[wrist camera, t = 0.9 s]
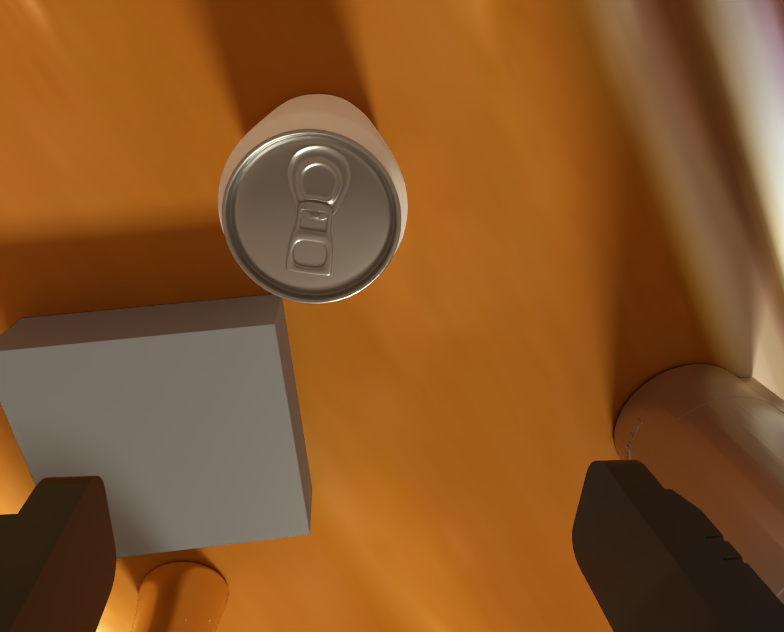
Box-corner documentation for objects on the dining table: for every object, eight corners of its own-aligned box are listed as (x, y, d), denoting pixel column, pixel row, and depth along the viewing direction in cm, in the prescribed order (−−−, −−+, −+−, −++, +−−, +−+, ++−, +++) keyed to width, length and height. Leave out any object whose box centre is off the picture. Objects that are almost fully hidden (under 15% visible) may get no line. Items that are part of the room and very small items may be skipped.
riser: (281, 293, 31) (274, 324, 28) (312, 488, 37) (309, 534, 33) (21, 318, 30) (-21, 353, 27) (95, 513, 36) (69, 563, 33)
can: (393, 104, 28) (432, 133, 17) (373, 230, 30) (396, 326, 19) (260, 81, 27) (210, 95, 16) (251, 214, 29) (203, 304, 18)
